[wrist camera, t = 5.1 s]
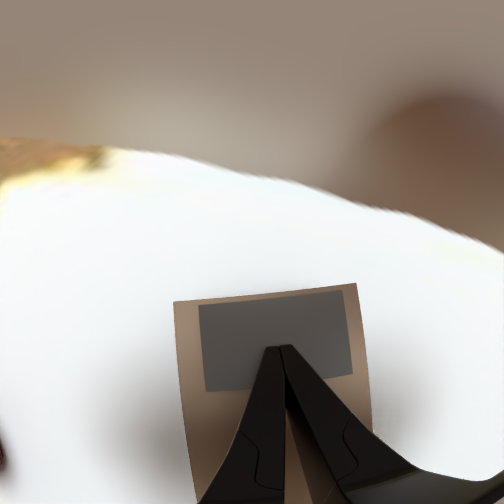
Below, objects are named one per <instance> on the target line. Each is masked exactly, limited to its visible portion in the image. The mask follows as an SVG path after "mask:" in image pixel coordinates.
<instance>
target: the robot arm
mask: <svg viewBox="0 0 504 504" xmlns="http://www.w3.org/2000/svg"><path fill="white" fill-rule="evenodd" d="M286 412H287V416H288V420H289V423H290V427H291V430H292V434H293V437H294V441H295V444H296V448H297V451H298V455H299V458H300V462H301V465H302V469H303V472H304V475H305V479H306V482H307V486H308V489H309V493H310V496H311V499H312V503H313V504H504V470H503V471H501V472H500V473H498V474H497V475H495V476H494V477H492V478H490V479H488V480H484V481H470V480H464V479H459V478H454V477H450V476H445V475H441V474H436V473H432V472H428V471H425V470H422V469H420V468H418V467H416V466H414V465H412V464H411V463H410V462H408V461H407V460H406V459H404V458H403V457H402V456H400V455H399V454H398V453H397V452H395V451H394V450H393V449H392V448H390V447H389V446H388V445H387V444H385V443H384V442H383V441H382V440H381V439H379V438H378V437H377V436H376V435H375V434H374V433H372V432H371V431H370V430H369V429H368V428H367V427H366V426H365V425H364V424H363V423H362V422H361V421H360V420H359V419H358V417H357V416H356V415H355V414H354V413H352V411H351V410H350V409H349V408H348V407H347V406H346V404H345V403H344V402H343V401H342V400H341V399H340V398H339V397H338V396H337V395H336V393H335V392H334V391H333V390H332V389H331V388H330V387H329V386H328V384H327V383H326V382H325V381H324V380H323V379H322V378H321V377H320V376H319V374H318V373H317V372H316V371H315V370H314V369H313V368H312V366H311V365H310V364H309V363H308V362H307V361H306V360H305V359H304V357H303V356H302V355H301V354H300V353H299V352H298V351H297V349H296V348H295V347H294V346H293V345H292V344H286V345H280V346H279V347H278V346H269V347H266V348H265V350H264V353H263V356H262V359H261V362H260V365H259V368H258V371H257V374H256V377H255V380H254V383H253V386H252V389H251V391H250V394H249V397H248V400H247V403H246V406H245V408H244V411H243V414H242V417H241V419H240V422H239V425H238V428H237V429H238V430H236V433H235V435H234V438H233V441H232V443H231V445H230V448H229V450H228V452H227V454H226V456H225V458H224V460H223V462H222V464H221V466H220V468H219V469H218V471H217V473H216V474H215V476H214V478H213V479H212V481H211V483H210V484H209V486H208V488H207V489H206V491H205V493H204V494H203V496H202V497H201V499H200V500H199V502H198V503H197V504H284V502H285V438H286Z"/></svg>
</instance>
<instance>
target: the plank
mask: <svg viewBox="0 0 504 504" xmlns="http://www.w3.org/2000/svg"><path fill="white" fill-rule="evenodd" d="M173 306H174V323H175V337H176V350H177V362H178V373H179V383H180V392H181V401H182V409H183V417H184V425H185V432H186V439H187V446H188V452H189V458H190V464H191V470H192V476H193V482H194V487H195V492H196V497H197V502H199V500H200V499H201V497H202V496H203V494H204V493H205V491H206V489H207V488H208V486H209V484H210V483H211V481H212V479H213V478H214V476H215V474H216V473H217V471H218V469H219V468H220V466H221V464H222V462H223V460H224V458H225V456H226V454H227V452H228V450H229V448H230V445H231V443H232V441H233V438H234V435H235V433H236V430H238V429H237V428H238V425H239V422H240V419H241V417H242V414H243V411H244V408H245V406H246V403H247V400H248V397H249V394H250V391H251V389H252V386H253V383H254V380H255V377H256V374H257V371H258V368H259V365H260V362H261V359H262V356H263V353H264V350H265V348H266V347H269V346H278V347H279V346H280V345H286V344H292V345H293V346H294V347H295V348H296V349H297V351H298V352H299V353H300V354H301V355H302V356H303V357H304V359H305V360H306V361H307V362H308V363H309V364H310V365H311V366H312V368H313V369H314V370H315V371H316V372H317V373H318V374H319V376H320V377H321V378H322V379H323V380H324V381H325V382H326V383H327V384H328V386H329V387H330V388H331V389H332V390H333V391H334V392H335V393H336V395H337V396H338V397H339V398H340V399H341V400H342V401H343V402H344V403H345V404H346V406H347V407H348V408H349V409H350V410H351V411H352V413H354V414H355V415H356V416H357V417H358V419H359V420H360V421H361V422H362V423H363V424H364V425H365V426H366V427H367V428H368V429H369V430H370V431H371V432H372V415H371V400H370V387H369V376H368V366H367V356H366V348H365V339H364V332H363V324H362V317H361V310H360V304H359V297H358V291H357V285H356V283H351V284H344V285H336V286H328V287H320V288H312V289H303V290H295V291H286V292H276V293H267V294H257V295H247V296H236V297H226V298H214V299H202V300H190V301H176V302H173ZM284 504H313V503H312V499H311V496H310V493H309V489H308V486H307V482H306V479H305V475H304V472H303V469H302V465H301V462H300V458H299V455H298V451H297V448H296V444H295V441H294V437H293V434H292V430H291V427H290V423H289V420H288V416H287V412H286V438H285V502H284Z"/></svg>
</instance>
